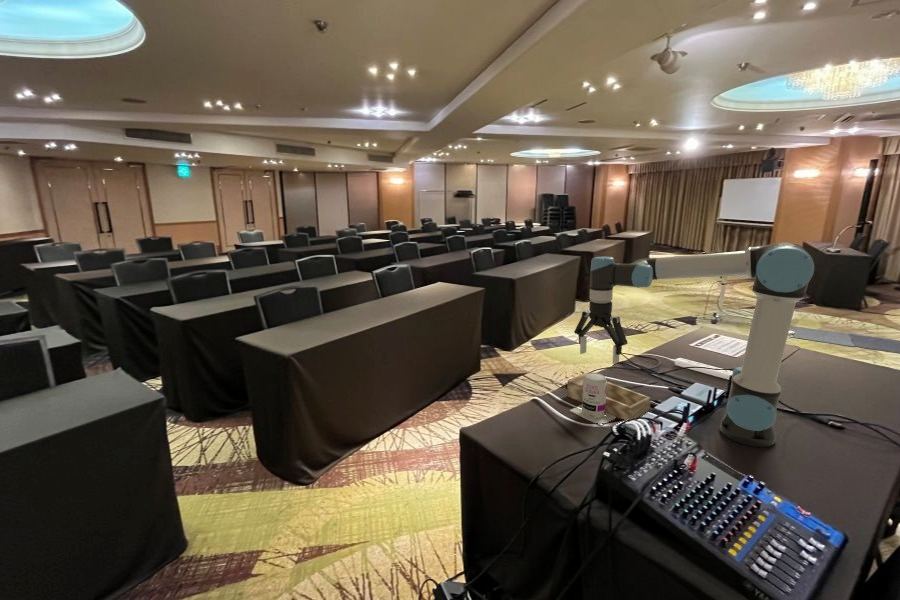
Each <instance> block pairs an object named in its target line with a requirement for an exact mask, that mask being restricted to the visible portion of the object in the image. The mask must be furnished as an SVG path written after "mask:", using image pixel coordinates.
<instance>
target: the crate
mask: <svg viewBox="0 0 900 600" xmlns="http://www.w3.org/2000/svg"><path fill="white" fill-rule="evenodd" d="M588 373H589V372H588V371H587V372H585V373H583V374H580V375H577V376H575V377H573V378H570V379H568V380H567V384H566V385H567V387H566V390H567V391H566V393H567V394H566V396H567V397H568V398H571V399H572V400H575V401H578V402H579V403H582V400H583V379H584V377H585V375H586V374H588ZM649 409H650V410H651V396H648V395H644V394H642V393H639V392H637V391H634V390H632V389H629V388H626V387H624V386H620V385H618V384H615V383H612V382H610V381H607V392H606V411H605V412H606V413H608V414H611V415H613V416H615V417H618V418H617V419H619V418H621V419H624V420H627V419H633V418H637V417H639V416H640V415H642V414H643V413H645V412H647V411H648V410H649ZM621 419H620V420H621Z"/></svg>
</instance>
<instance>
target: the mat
mask: <svg viewBox="0 0 900 600" xmlns="http://www.w3.org/2000/svg"><path fill="white" fill-rule="evenodd" d="M577 407H580V408H582V404H580V405H578V406H577ZM569 412H570V413H573V414H574V415H577V416H579V417H580V418H583V419H584V420H587V421H590V422H591V423H594V424H596V423H598V424H602V423H607V424H609V423H610V422H612V421H614V420H616V419H617V418H616V417H615V416H613V415H611V414H608V413H606V412H605V415H606V416H607V417H602V418H597V419H595V418H590V417H587V416H586V415H584V413H583V412H582V410H580V409H577V408H575V407H574V408H572V409H569ZM615 418H616V419H615ZM613 419H614V420H613ZM611 420H612V421H611ZM609 421H610V422H609ZM598 424H597V425H598Z"/></svg>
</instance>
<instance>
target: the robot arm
mask: <svg viewBox="0 0 900 600" xmlns="http://www.w3.org/2000/svg"><path fill="white" fill-rule="evenodd" d="M589 271H590V277H589V279H590V281H589V282H590V283H589V286H590V287H589V300H590V301H589V310H588V309H587V310H584V311H583V310H582V313H581V317H580V319H579V320H578V321H579V322H578V323H577V326H576V327H575V329H574V332H573V333H574V334H576V335H578V344H579V354H580V355H582V354H586V353H587V344H588V343H587V342H588V341H587V340H588V339H587V337H588V336H587V333H588V332H589V331H590V330H591V329H592V328H593V326H594V327H599V328H603V329H604V330H605V331H606V332H607V334H608V335H609V337H610V339H611V340H612V341H613V343H614V344H613V347H612V348H613V349H612V364H613V365H615V364H617V363H619V362H620V355H621V354H622V352H623V351H622V348H623V346H625V345H627V344H628V340H627V337H626V334H625V332H624V330H623V327H622V325H621V318H620V316H612V311H613V302H612V301H613V296H614V295H613V290H614V286H618V287H619V286H621V287H622V286H623V287H633V288H649V287H650V286H651V285H652V282H653V281H655V280H673V279H674V280H675V279H676V280H677V279H692V278H693V279H695V278H696V279H697V278H713V277H714V278H715V277H716V278H717V277H733V276H734V277H735V276H739V277H740V276H746V277H748V278H749V279H754V281H753V285H752V289H751V291H752V292H753V293H754V295H755V296H756V303H755V307H754V311H753V316H752V319H751V325H750V329H749V333H748V337H747V343H746V346H745V351H744V356H743V361H742V365H741V366H737V367H735V368H734V369H733V371H732V373H731V376H732V377H731V385H730V388H729V389H730V390H729V394H728V399H727V403H726V406H725V407H726V412H725V414H723V415H724V416H723V417H722V418H721V421H720V424H719V431H720V433H721V434H722V435H723V436H725V437H726V438H728V439H730V440H731V441H734V442H736V443H739V444H741V445H744V446H750V447H755V448H757V447H758V448H767V447H771V446H773V445H774V444H775V443H776V440H777V438H776V437H777V434H776V430H775V425H774V424H775V422H776V420H777V417H778V414H777V410H778V409H777V408H778V404H779V400H780V396H781V393H782V387H781V385H780V384H779V382H778V377H779V372H780V368H781V364H782V360H783V357H784V352H785V348H786V343H787V340H788V336H789V331H790V328H791V324H792V320H793V315H794V311H795V307H796V304H797V303H798V302H800V301H801V300H804V299H805V297H806V294H807V291H808V290H807V289H808V286H809V282H810V281H811V280H812V277H813V276H814V272H815V262H814V260H813V257H812V256H811V255H810V253H809V252H808V251H807V250H806V248H804V247H803V246H801V245H799V244H797V243H793V242H786V241H785V242H784V241H783V242H777V243H771V244H767V245H759V246H749V247H748V248H747V249H746V250H739V251H730V252H729V251H728V252H727V251H726V252H717V253H716V252H715V253H706V254H705V253H704V254H703V253H702V254H691V255H680V256H679V255H678V256H677V255H676V256H667V257H657V258H647V257H644V258H638V259H636V260H635V261H633V262H631V263H618V262H617V263H616V262H615V259H614V257H613V256H595V257H593V258H592V259H591V262H590V270H589ZM588 318H590V320H589V321H588ZM587 321H588V322H587Z"/></svg>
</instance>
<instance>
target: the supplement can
mask: <svg viewBox="0 0 900 600" xmlns="http://www.w3.org/2000/svg"><path fill="white" fill-rule="evenodd" d="M607 382H608V381H607V379H606V376H605V375H604V374H602V373H597V372H588V374H586V375H585V377H584V379H583V400H582V402H581V405H582V412H583V413H584V415H586V416H587V417H590V418H595V419H597V418H602V417H603V416H604V415H605V411H606V397H607V396H606V392H607Z"/></svg>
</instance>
